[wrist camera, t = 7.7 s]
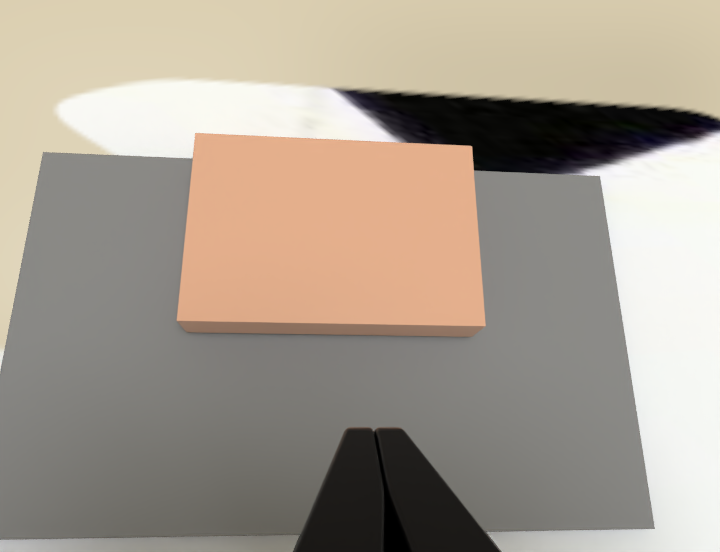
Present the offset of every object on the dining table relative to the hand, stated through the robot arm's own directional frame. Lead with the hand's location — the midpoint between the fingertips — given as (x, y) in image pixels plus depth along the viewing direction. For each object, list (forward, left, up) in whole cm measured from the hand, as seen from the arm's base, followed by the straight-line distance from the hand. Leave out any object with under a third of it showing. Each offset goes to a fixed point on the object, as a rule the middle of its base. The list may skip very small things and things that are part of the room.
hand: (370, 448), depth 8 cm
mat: (+3, -4, -13) cm, 14 cm away
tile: (+2, -4, -12) cm, 13 cm away
